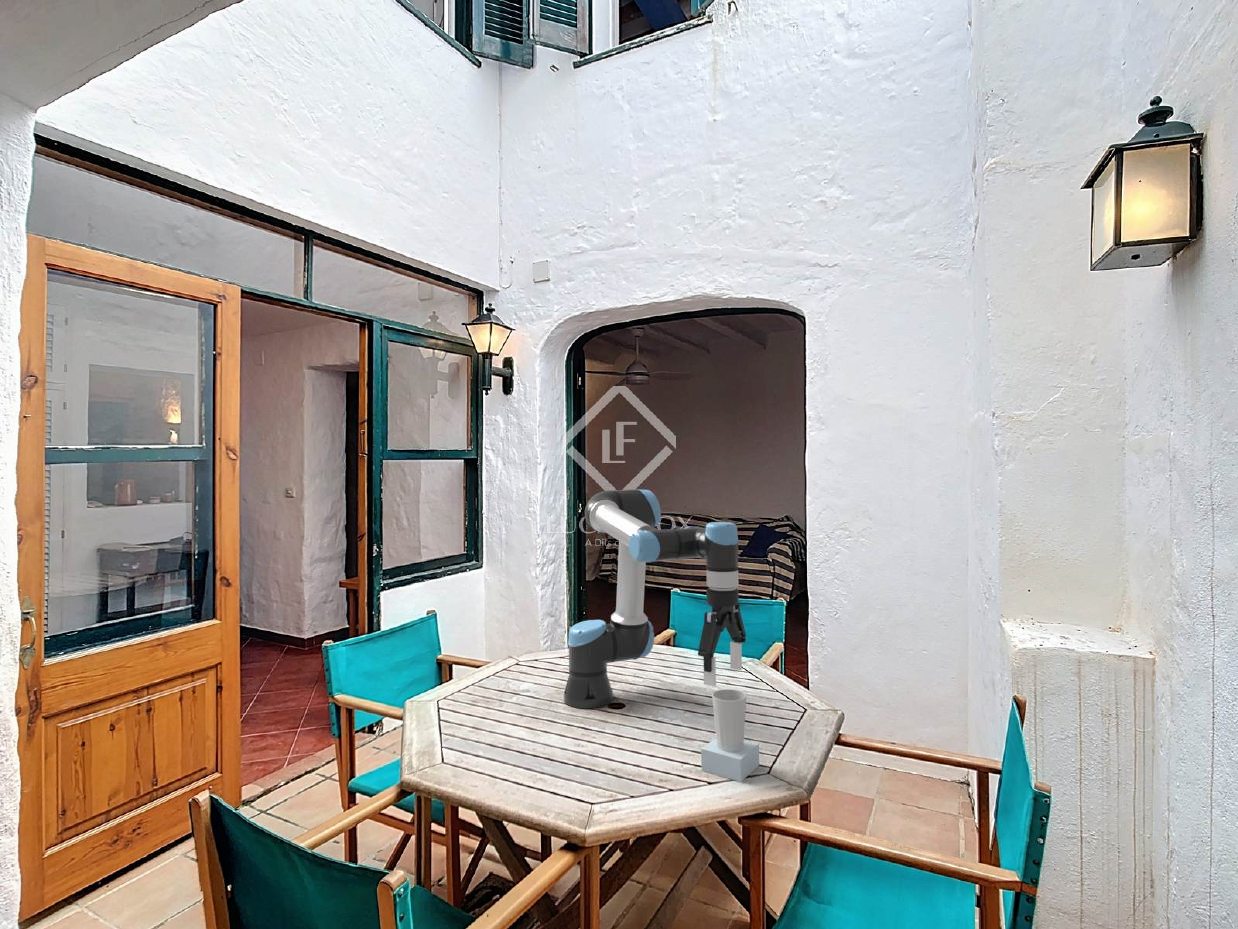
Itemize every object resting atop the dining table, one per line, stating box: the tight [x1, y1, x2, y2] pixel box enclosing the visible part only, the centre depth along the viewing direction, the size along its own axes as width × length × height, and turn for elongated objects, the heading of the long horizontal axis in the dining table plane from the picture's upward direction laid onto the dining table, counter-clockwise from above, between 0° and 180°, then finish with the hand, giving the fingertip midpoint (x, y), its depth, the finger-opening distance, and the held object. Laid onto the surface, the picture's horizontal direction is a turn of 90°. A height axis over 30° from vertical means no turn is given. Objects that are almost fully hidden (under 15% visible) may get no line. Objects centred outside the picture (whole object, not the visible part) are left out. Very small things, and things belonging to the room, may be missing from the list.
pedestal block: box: [700, 737, 760, 783], centre depth 150 cm, size 10×10×5 cm
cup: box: [711, 688, 747, 752], centre depth 150 cm, size 8×8×12 cm
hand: (723, 676), depth 152 cm, fingers open, 13 cm apart
